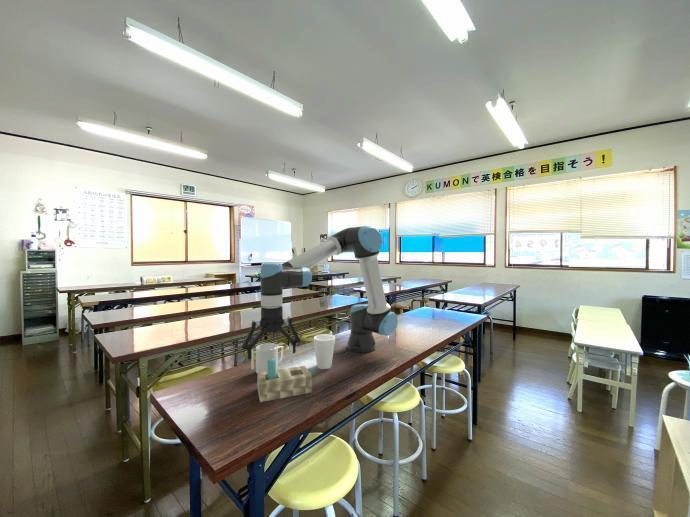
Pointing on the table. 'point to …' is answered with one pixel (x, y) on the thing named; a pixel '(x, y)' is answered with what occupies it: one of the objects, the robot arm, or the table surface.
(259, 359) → the mug
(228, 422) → the table surface
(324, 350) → the foam cup
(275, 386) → the hole block
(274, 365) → the peg
